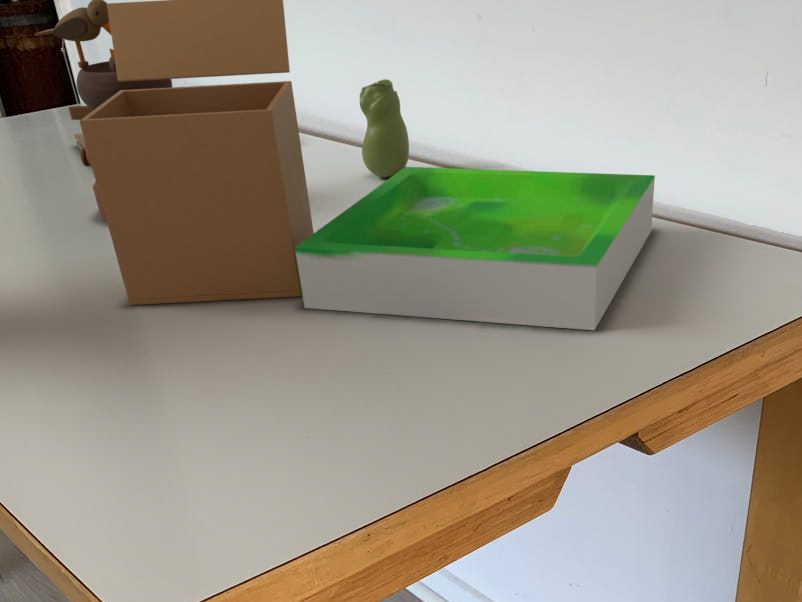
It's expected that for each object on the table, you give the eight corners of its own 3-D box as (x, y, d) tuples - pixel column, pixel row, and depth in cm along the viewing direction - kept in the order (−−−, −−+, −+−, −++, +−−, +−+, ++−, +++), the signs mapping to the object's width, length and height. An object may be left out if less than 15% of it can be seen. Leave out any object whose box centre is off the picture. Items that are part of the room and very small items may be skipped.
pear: (395, 184, 111) (386, 85, 105) (355, 181, 113) (344, 83, 107) (419, 172, 115) (411, 75, 109) (380, 168, 117) (370, 73, 111)
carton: (129, 305, 85) (79, 120, 76) (161, 259, 94) (120, 90, 85) (301, 296, 85) (271, 110, 76) (316, 251, 94) (291, 80, 85)
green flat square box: (651, 230, 94) (654, 175, 91) (594, 330, 76) (596, 265, 73) (409, 219, 101) (405, 166, 98) (304, 307, 83) (294, 247, 80)
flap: (106, 3, 83) (108, 4, 83) (117, 80, 85) (119, 81, 85) (281, -7, 83) (282, -5, 83) (289, 71, 84) (289, 72, 85)
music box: (76, 232, 102) (14, 5, 91) (96, 211, 111) (41, 2, 100) (223, 218, 104) (179, -7, 92) (231, 199, 113) (192, -9, 101)
